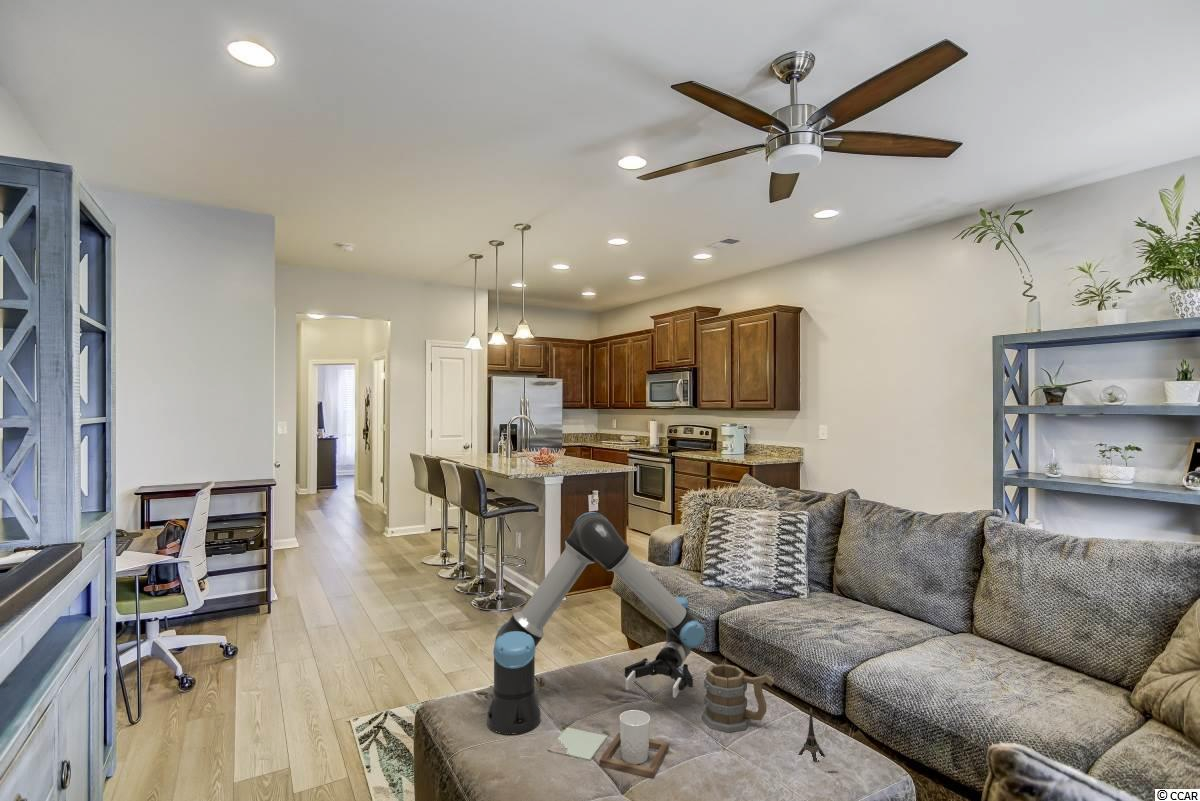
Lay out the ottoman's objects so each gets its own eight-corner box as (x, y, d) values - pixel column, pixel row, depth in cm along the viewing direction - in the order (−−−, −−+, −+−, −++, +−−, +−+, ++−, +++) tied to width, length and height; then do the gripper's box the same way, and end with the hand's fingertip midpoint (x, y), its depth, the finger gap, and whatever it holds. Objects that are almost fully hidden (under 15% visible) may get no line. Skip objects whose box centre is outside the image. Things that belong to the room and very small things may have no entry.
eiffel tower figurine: (781, 740, 158) (781, 690, 158) (820, 741, 157) (819, 691, 158) (797, 774, 143) (797, 718, 143) (839, 775, 142) (839, 719, 143)
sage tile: (547, 751, 152) (547, 749, 152) (567, 728, 163) (567, 727, 163) (589, 761, 147) (589, 759, 147) (607, 737, 159) (607, 735, 159)
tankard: (697, 725, 165) (697, 671, 166) (711, 706, 176) (710, 655, 177) (769, 743, 156) (768, 686, 156) (778, 722, 167) (778, 668, 167)
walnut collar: (599, 765, 145) (599, 759, 145) (618, 737, 158) (618, 732, 158) (653, 778, 140) (653, 772, 140) (668, 748, 153) (668, 742, 153)
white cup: (633, 745, 155) (633, 706, 155) (656, 757, 149) (656, 717, 150) (613, 757, 149) (613, 717, 150) (636, 770, 144) (635, 728, 144)
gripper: (710, 677, 175) (695, 710, 155) (632, 665, 184) (608, 695, 165) (710, 652, 175) (694, 681, 156) (631, 641, 185) (607, 668, 165)
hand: (650, 688), depth 160 cm, fingers open, 13 cm apart
